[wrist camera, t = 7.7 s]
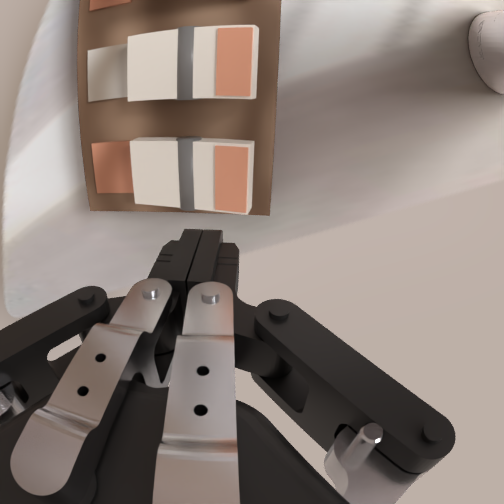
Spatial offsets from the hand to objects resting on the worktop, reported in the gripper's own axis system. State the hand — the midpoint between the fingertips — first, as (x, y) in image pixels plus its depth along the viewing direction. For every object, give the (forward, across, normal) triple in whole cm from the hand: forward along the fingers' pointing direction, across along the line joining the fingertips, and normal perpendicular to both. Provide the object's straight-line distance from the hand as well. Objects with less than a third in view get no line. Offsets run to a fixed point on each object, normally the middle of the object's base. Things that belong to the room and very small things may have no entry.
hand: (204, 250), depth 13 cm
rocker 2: (+11, +3, 0) cm, 11 cm away
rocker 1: (+11, +3, -8) cm, 14 cm away
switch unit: (+17, +5, -8) cm, 19 cm away
